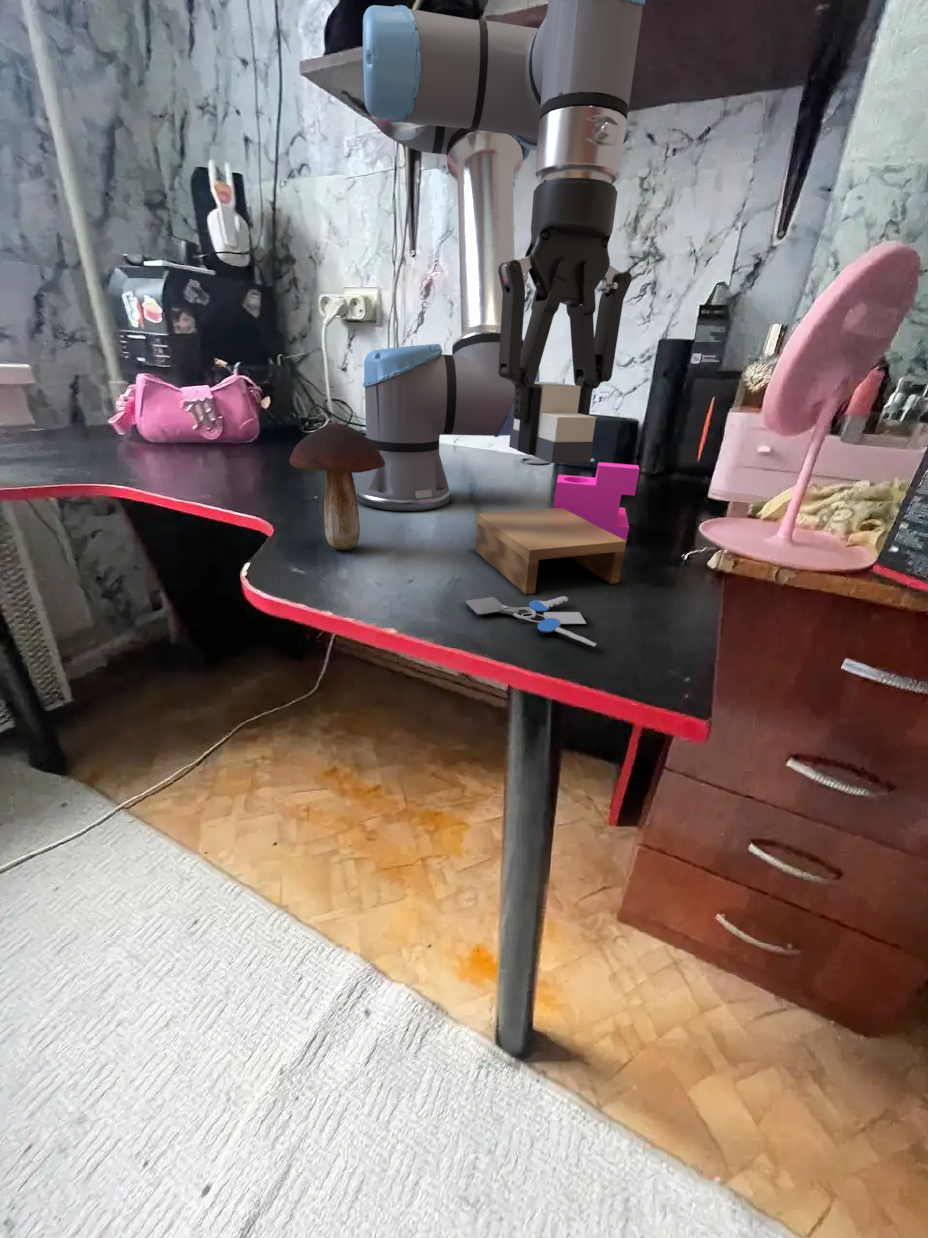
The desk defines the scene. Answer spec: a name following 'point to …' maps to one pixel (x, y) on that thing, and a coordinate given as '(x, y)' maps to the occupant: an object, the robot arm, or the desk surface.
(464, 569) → the desk surface
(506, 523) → the oak shelf
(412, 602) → the desk surface
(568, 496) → the bracket
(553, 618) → the key chain
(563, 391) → the stepped grey-based block
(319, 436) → the decorative mushroom
